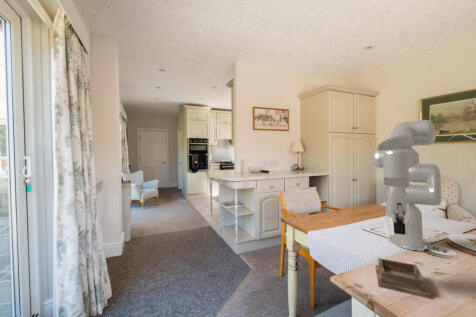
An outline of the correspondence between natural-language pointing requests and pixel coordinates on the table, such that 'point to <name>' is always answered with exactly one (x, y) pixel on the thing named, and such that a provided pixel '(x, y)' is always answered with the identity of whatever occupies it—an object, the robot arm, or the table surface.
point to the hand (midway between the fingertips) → (397, 230)
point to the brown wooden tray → (401, 277)
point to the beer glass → (393, 238)
